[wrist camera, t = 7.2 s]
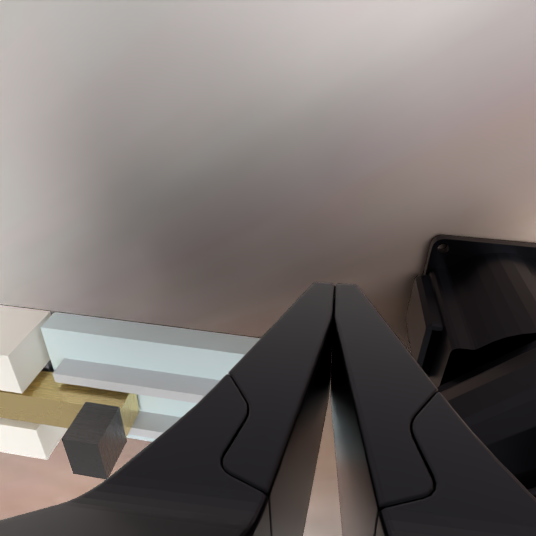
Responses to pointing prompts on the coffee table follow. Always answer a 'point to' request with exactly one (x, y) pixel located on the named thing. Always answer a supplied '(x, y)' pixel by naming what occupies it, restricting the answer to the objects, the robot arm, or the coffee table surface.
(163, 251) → the coffee table surface
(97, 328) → the door and jamb
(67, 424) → the bolt
